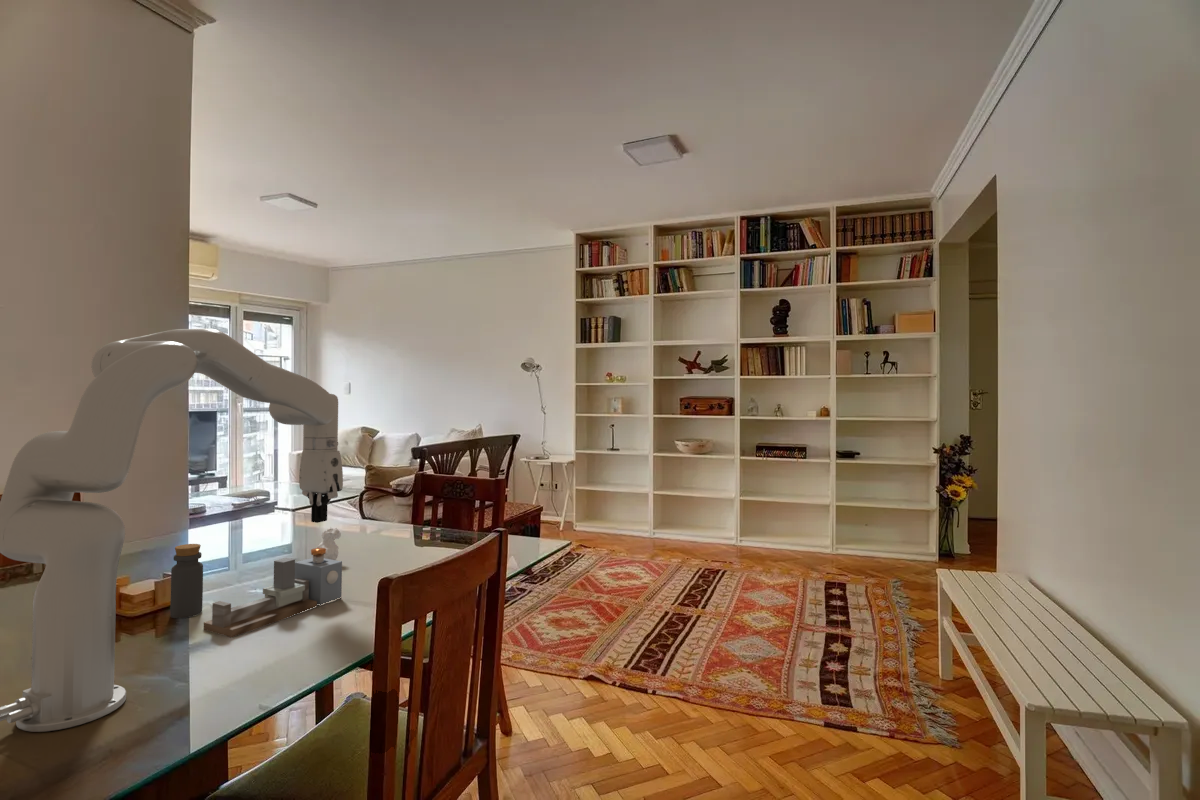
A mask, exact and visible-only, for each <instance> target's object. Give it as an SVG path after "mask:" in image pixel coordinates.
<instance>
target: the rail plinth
mask: <svg viewBox="0 0 1200 800" xmlns="http://www.w3.org/2000/svg"><path fill="white" fill-rule="evenodd" d="M295 583H297V584H302V585H305V590H304V591H303V597H302V599H301V600H298V601H295V602H292V603H289V604H286V605H283V606H280V607H277V606H276V597H275V596H269V597H265V596H264V597H262V598H259V599H256V600H253V601H249V602H246V603H243V604H240V605H237V606H233V607H232V603H229V602H225V601H221V600H219V601H215V602H212V611H211V612H212V614H211V620H207V621H204V622H203V630H204V631H206V632H209V633H210V632H211V633H215V634H218V635H222V636H225V637H228V638H235V637H238V636H240V635H243V634H245V633H249V632H252V631H254V630H257V629H260V628H263V627H266V626H268V625H272V624H274V623H277V622H279V621H283V620H285V618H286V619H288V618H287V617H289V618H291V617H293V616H292V615H294V614H297V613H300V612H302V611H305V610H307V609H310V608H313V607H315V606H317V601H314V600H310V599H309V580H305V579H300V578H297V579H295ZM300 614H301V613H300ZM297 615H298V614H297ZM290 616H291V617H290ZM294 616H295V615H294Z"/></svg>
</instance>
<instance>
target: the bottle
mask: <svg viewBox="0 0 1200 800" xmlns="http://www.w3.org/2000/svg"><path fill="white" fill-rule="evenodd" d="M174 549H175V550H174V551H175V554H174V555H173V561H175V562H176V564H174V565H173V566H172V567H171V569H170V570H171V571H170V572H171V573H170V575H171V576H170V605H169V606H170V611H169V612H170V618H172V619H186V618H192V617H195V616H198V615H200V614H201V613H202V612H203V595H204V594H203V593H204V591H203V590H204V564H203V563H202V562H200V561H199V559H201V558H202V552H201V551H200V549H201V544H199V543H187V544H180V545H177V546H175V547H174Z"/></svg>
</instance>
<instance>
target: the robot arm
mask: <svg viewBox="0 0 1200 800" xmlns="http://www.w3.org/2000/svg"><path fill="white" fill-rule="evenodd" d="M90 365H91V372H92V374H93V377H94V378H93V379H92V380H91V382H90V383H89V384H88V385H87V386H86V388H85V390H84V391H83V394H82V395H81V397H80V399H79V402H78V405H77V407H76V410H75V413H74V415H73V419H72V422H71V423H70V427H69V429H68V430H55V431H47V432H44V433H40V434H39V435H36V436H34V437H33V438H31V439H29V441H27V442H26V443H25V444H24V445H23V446H22V447H21V448H20V449H19V451H18V452H17V453H16V455H15V457H14V459H13V461H12V464H11V466H10V470H9V473H8V476H7V479H6V481H5V485H4V488H3V492H2V495H1V498H0V554H1V555H3V556H4V557H6V558H7V559H10V560H13V561H18V562H26V563H34V564H35V563H36V564H44V565H45V567H44V568H45V569H44V571H43V574H42V575H41V578H40V579H39V582H38V583H37V586H36V588H35V591H34V593H33V601H32V642H31V643H32V644H31V651H32V652H31V659H32V660H31V687H30V688H27V689H24V690H23V689H22V696H21V697H19V698H16V699H15V700H14V702H12V703H9V704H5V705H1V706H0V722H2V721H4V720H6V722H7V723H8V724H12V723H14V722H15V723H16V727H17V728H18V729H20V730H21V731H24V732H32V733H33V732H34V733H35V732H37V733H41V732H42V733H43V732H51V731H58V730H64V729H70V728H74V727H78V726H80V725H83V724H87V723H89V722H93V721H95V720H97V719H100V718H102V717H104V716H106V715H108V714H111V713H112V712H114V711H115V710H117V709H118V708H120V707H121V706H122V705H123V704H124V703H125V701H126V699H127V689H126V688H125V687H124V686H121V685H118V684H115V659H116V649H115V648H116V615H117V611H116V608H117V604H116V603H117V602H116V600H117V597H116V596H117V594H116V593H117V580H118V579H117V578H118V576H117V575H118V571H119V569H118V568H119V563H120V560H121V559H120V558H121V554H122V551H123V550H122V549H123V547H124V542H125V538H126V526H125V522H124V519H123V518H122V516H121V515H120V514H119V513H118V512H117V511H116V510H114V509H113V508H111V507H109V506H107V505H105V504H101V503H98V502H92V501H79V500H73V498H74V494H75V493H82V494H83V493H84V494H86V493H87V494H95V493H96V494H101V493H108V492H111V491H114V490H116V489H118V488H120V487H121V486H122V484H124V483H125V481H126V480H127V478H128V475H129V473H130V471H131V470H130V469H131V468H132V467H131V466H132V462H133V460H134V456H135V452H136V447H137V444H138V440H139V436H140V432H141V428H142V425H143V422H144V419H145V416H146V414H147V412H148V410H149V408H150V407H151V405H152V404H153V403H154V402H155V401H156V400H157V399H158V398H160V396H162V395H164V394H165V393H167V392H168V391H170V390H173V389H176V388H178V387H181V386H184V385H185V384H186V383H188V382H189V381H190V379H191V378H192V377H193V376H194V374H200V375H204V376H206V377H208V378H209V379H211V380H212V381H215V382H216V383H218V384H219V385H221V386H223V387H225V388H226V389H228V390H230V391H231V392H233V394H236V395H238V396H239V397H242V398H244V399H248V400H252V401H255V402H260V403H267V404H269V405H268V412H269V414H270V416H271V418H272V419H273V420H274V421H275V422H278V423H279V424H283V425H289V426H302V425H303V429H302V430H303V432H302V433H303V434H302V437H303V438H302V453H301V457H300V465H299V471H298V472H299V474H298V477H299V478H298V486H299V489H300V490H301V491H302V492H301V495H303V496H305V497H307V498H308V501H309V505H310V506H311V510H310V511H311V513H310V514H311V515H310V516H311V517H310V519H311V520H310V521H311V523H317V524H318V523H323V522H326V521H328V505H329V504H330V501H331V500H332V499H336V498H338V497H339V494H338V492H341V491H342V490H343V487H344V486H343V485H344V476H343V475H344V474H343V473H344V471H343V462H342V456H341V451H340V450H338V447H339V441H338V440H339V437H338V435H339V433H338V432H339V397H338V396H337V395H336V394H333V393H330V392H329V391H327V390H326V389H325V388H323V387H322V386H321V385H320V384H318V383H317V382H315V381H313V380H312V379H310V378H307V377H305V376H303V375H300V374H297V373H295V372H292V371H289V370H287V369H285V368H283V367H279V366H277V365H274V364H271V363H269V362H267V361H265V360H264V359H263V358H261V357H259V356H258V355H257V354H256V353H254V352H252V351H251V350H250V349H248V348H247V347H245V346H244V345H243V344H241V343H240V342H238V341H237V340H236V339H234V338H233V337H231V336H230V335H228V334H227V333H225V332H223V331H221V330H218V329H214V328H177V329H168V330H165V331H159V332H154V333H150V334H146V335H141V336H135V337H130V338H126V339H120V340H116V341H111V342H109V343H106V344H104V345H103V346H101V347H100V348H98V349H97V351H96V352H95V353H94V355H93V357H92V359H91V364H90Z"/></svg>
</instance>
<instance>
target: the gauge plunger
mask: <svg viewBox="0 0 1200 800" xmlns="http://www.w3.org/2000/svg"><path fill="white" fill-rule="evenodd" d="M325 553H326V548H317V547H315V548H312V549H310V555H311V556H312V558H313V564H321V563H324V554H325Z"/></svg>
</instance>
